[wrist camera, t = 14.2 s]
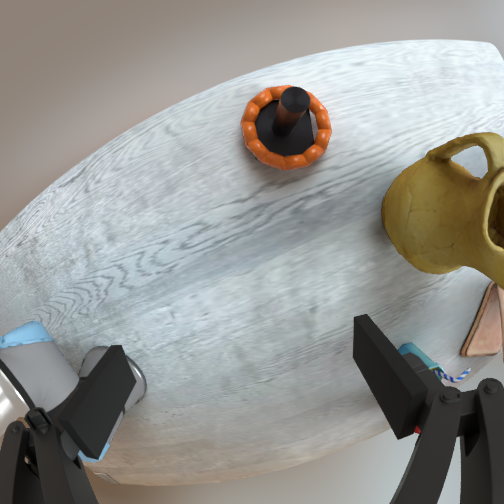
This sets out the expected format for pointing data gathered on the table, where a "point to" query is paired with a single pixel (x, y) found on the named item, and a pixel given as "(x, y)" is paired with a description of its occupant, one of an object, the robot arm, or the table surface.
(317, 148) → the ring
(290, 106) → the peg stand
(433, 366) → the cup
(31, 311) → the table surface
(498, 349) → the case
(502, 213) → the pitcher
